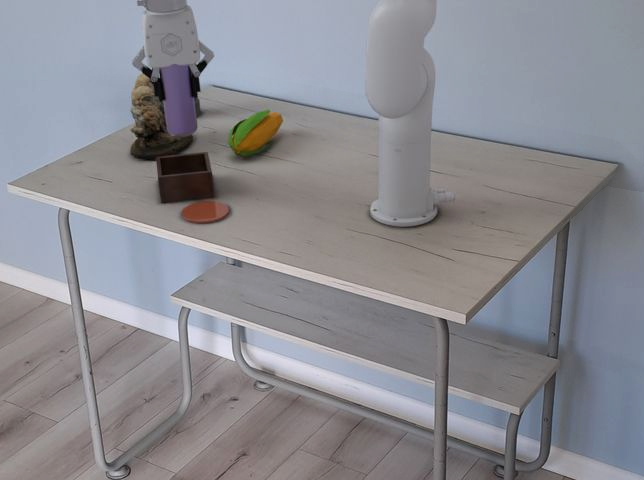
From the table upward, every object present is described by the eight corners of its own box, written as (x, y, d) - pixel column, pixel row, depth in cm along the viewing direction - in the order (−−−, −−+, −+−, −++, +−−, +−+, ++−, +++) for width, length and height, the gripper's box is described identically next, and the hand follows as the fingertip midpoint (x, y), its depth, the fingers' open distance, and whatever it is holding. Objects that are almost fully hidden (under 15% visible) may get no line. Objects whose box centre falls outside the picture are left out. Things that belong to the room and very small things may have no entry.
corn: (218, 126, 215) (264, 95, 229) (219, 159, 219) (264, 127, 234) (249, 133, 212) (293, 101, 227) (249, 167, 216) (293, 133, 231)
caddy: (210, 176, 212) (207, 151, 209) (214, 197, 204) (211, 171, 201) (159, 181, 211) (155, 156, 208) (161, 203, 202) (157, 177, 199)
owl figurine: (163, 166, 218) (153, 87, 209) (116, 159, 222) (105, 82, 213) (204, 135, 231) (197, 61, 222) (159, 129, 236) (150, 56, 226)
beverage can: (193, 138, 197) (183, 61, 189) (163, 137, 198) (152, 60, 190) (201, 126, 202) (192, 51, 194) (172, 126, 203) (162, 51, 195)
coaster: (226, 201, 202) (226, 198, 202) (230, 220, 194) (230, 218, 194) (180, 205, 201) (180, 203, 201) (183, 225, 194) (183, 223, 193)
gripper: (118, 12, 183) (133, 109, 193) (214, 2, 184) (224, 99, 194) (118, 1, 189) (133, 96, 199) (211, -8, 191) (221, 86, 200)
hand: (178, 96), depth 196 cm, fingers closed on beverage can, 6 cm apart
